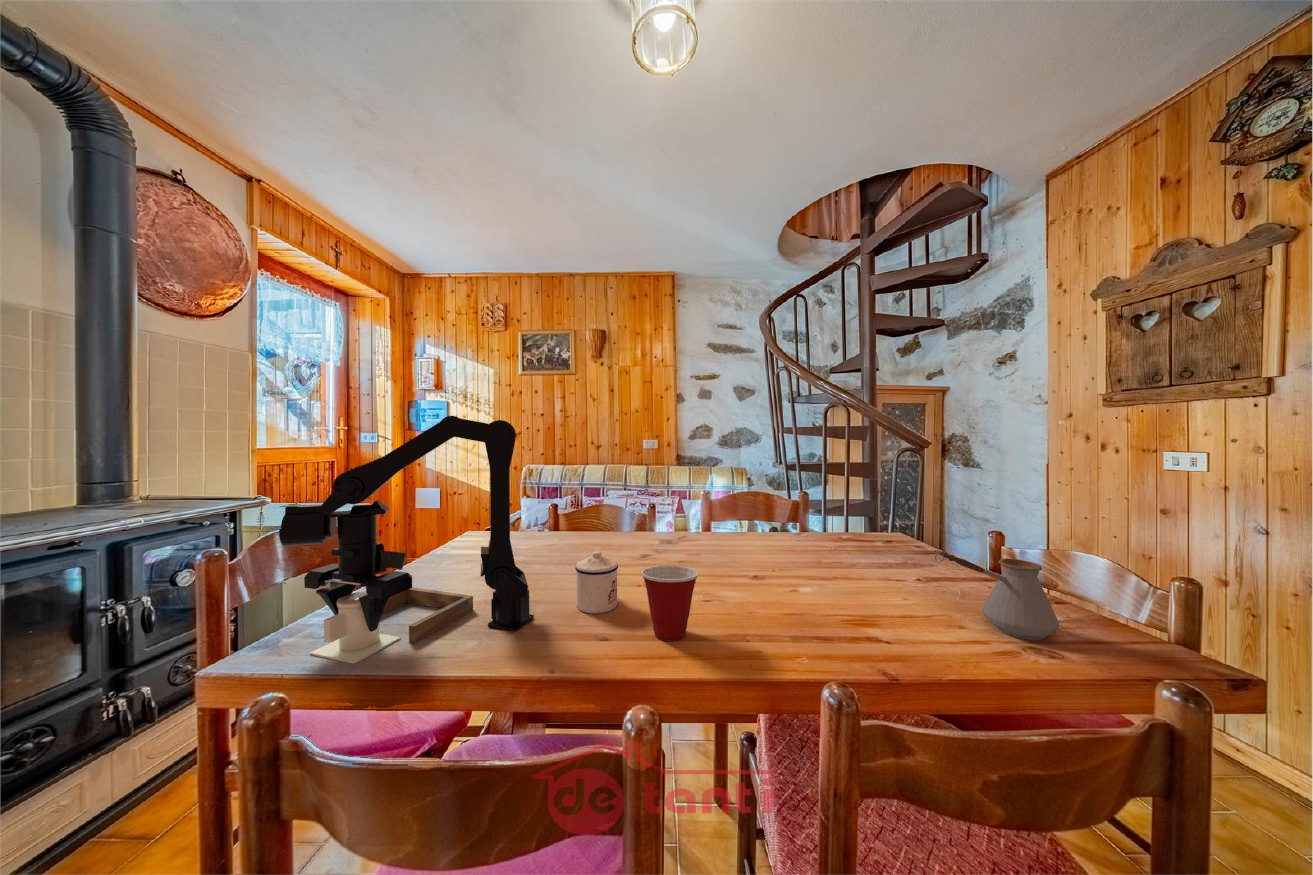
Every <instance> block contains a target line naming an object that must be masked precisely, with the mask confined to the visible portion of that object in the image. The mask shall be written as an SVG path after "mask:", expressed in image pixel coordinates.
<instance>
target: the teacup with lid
mask: <svg viewBox="0 0 1313 875" xmlns="http://www.w3.org/2000/svg"><path fill="white" fill-rule="evenodd" d="M618 569H619V565H618V562H617V561H616V560H614V559H612V558H609V557H607V556H605V555H603V554H602V552H601V551H599V550H597V551H596V550H595V551H593V552H592V553H591V556H589V557H586V558H585V559H581V560H579V561H578V562H577V563H576V564H575V571H576V608H577V609H578V610H579V611H581V612H583V613H586V614H603V613H608V612H610V611H613V609H615V608H616V607H617V605H618Z"/></svg>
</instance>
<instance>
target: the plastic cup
mask: <svg viewBox="0 0 1313 875" xmlns="http://www.w3.org/2000/svg"><path fill="white" fill-rule="evenodd" d="M699 574H700V572H699V571H698V570H697V569H695V568H693V567H688V566H683V565H654V566H649V567H646V568H643V569H642V570H641V571H640V575H641V576H642V578H643V580H644V585H645V589H646V594H647V601H648V608H649V611H650V612H649V613H650V618H651V620H652V621H651V622H652V629H653V632H654V633H653V634H654V636H655V637H656V638H657V639H658V640H661V641H664V642H665V641H666V642H677V641H680V640H681V639H683V638H685V636H686V632H687V627H688V622H689V617H690V613H691V608H692V607H691V605H692V601H693V599H692V598H693V594H694V589H695V584H696V580H697V578H698V576H699Z"/></svg>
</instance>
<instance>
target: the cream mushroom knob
mask: <svg viewBox="0 0 1313 875" xmlns="http://www.w3.org/2000/svg"><path fill="white" fill-rule="evenodd" d="M365 595H368V594H367V593H366V590H364V591H357V592H352V594H348V595H345V596H343V597H341V598H339V599H338V600H337V607H338V614H337V615H332V616H329V617H328V618H324V619H323V631H324V632H323V637H324V638H323V640H324V642H325V643H328V644H329V643H331V642H334V641H336V640H338V639H339V648H340V649H341V650H344V651H353V650H359V649H363V648H366V647H369V646H371V645H373V644H375V643H377V642H378V641H379V639H380V634H381V630H380V625H381V624H380V623H379V624H378V627H377V629H376V630H375V631H372V632H370V631H369V628H368V626H367V623H366V620H365V617H364V613H363V610H362V607H361V604H360V600H359V598H360V597H362V596H365Z"/></svg>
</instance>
